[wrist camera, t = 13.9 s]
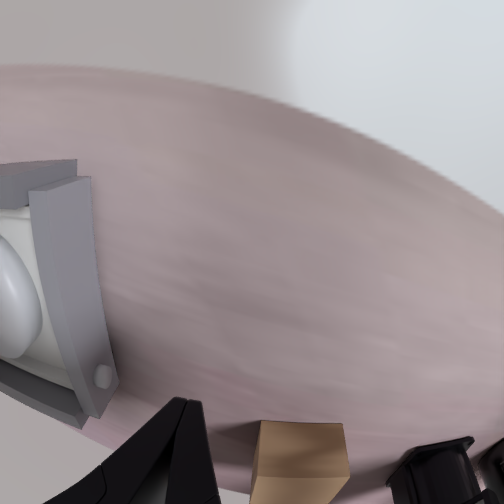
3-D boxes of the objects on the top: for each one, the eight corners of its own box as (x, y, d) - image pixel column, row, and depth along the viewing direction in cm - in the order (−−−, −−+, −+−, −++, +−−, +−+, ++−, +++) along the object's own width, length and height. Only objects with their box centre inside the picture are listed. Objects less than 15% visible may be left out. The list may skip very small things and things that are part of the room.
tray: (100, 176, 11) (57, 191, 8) (127, 384, 16) (108, 422, 13) (-44, 181, 12) (-77, 193, 9) (-9, 336, 16) (-31, 357, 13)
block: (342, 423, 16) (350, 476, 12) (322, 461, 18) (325, 506, 14) (261, 420, 16) (257, 476, 13) (253, 458, 18) (249, 505, 14)
